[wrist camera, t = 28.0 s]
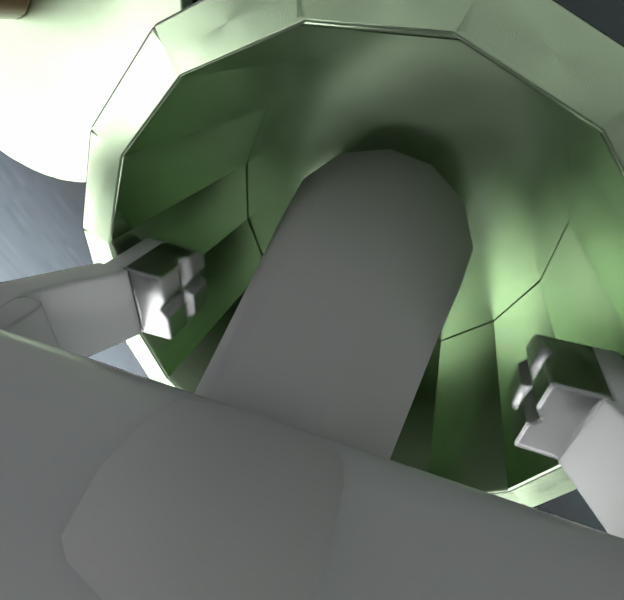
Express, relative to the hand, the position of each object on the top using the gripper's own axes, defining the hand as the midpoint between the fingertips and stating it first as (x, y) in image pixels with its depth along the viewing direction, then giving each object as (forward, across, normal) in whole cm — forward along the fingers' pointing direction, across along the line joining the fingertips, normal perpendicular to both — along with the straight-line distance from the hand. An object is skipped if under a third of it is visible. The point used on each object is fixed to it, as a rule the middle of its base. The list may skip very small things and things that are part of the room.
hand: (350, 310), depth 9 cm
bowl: (+6, 0, 0) cm, 6 cm away
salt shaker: (+6, 0, 0) cm, 6 cm away
